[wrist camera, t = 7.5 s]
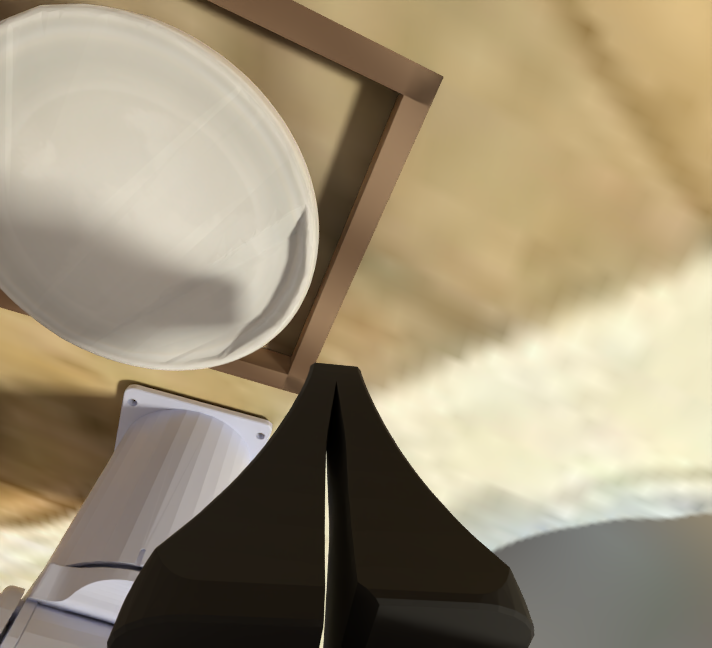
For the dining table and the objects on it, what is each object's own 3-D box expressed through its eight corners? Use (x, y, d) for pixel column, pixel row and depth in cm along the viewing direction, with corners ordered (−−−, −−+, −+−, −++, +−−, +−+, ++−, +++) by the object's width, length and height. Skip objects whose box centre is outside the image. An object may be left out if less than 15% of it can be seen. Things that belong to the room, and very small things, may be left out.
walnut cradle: (303, 376, 22) (300, 395, 21) (15, 289, 19) (-8, 305, 18) (435, 76, 15) (443, 76, 14) (16, -135, 12) (-22, -158, 11)
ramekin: (268, 339, 21) (249, 411, 17) (30, 247, 19) (-70, 304, 14) (372, 123, 16) (383, 144, 12) (66, -49, 14) (-74, -108, 9)
